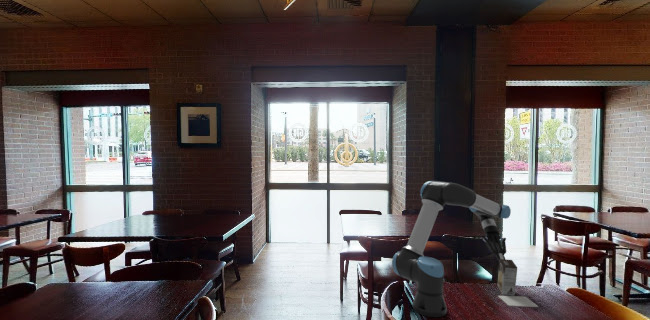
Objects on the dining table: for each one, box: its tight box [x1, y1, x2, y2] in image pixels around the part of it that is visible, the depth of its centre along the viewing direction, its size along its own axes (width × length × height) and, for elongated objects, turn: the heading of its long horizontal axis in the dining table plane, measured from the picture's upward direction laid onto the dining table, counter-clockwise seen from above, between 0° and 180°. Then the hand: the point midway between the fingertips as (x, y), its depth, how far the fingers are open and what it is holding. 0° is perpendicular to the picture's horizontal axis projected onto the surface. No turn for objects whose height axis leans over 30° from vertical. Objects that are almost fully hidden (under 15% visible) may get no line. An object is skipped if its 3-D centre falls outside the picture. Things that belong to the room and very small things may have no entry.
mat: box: [497, 295, 539, 308], centre depth 164 cm, size 14×11×1 cm
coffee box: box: [497, 258, 518, 296], centre depth 174 cm, size 9×6×16 cm
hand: (503, 265), depth 178 cm, fingers closed
